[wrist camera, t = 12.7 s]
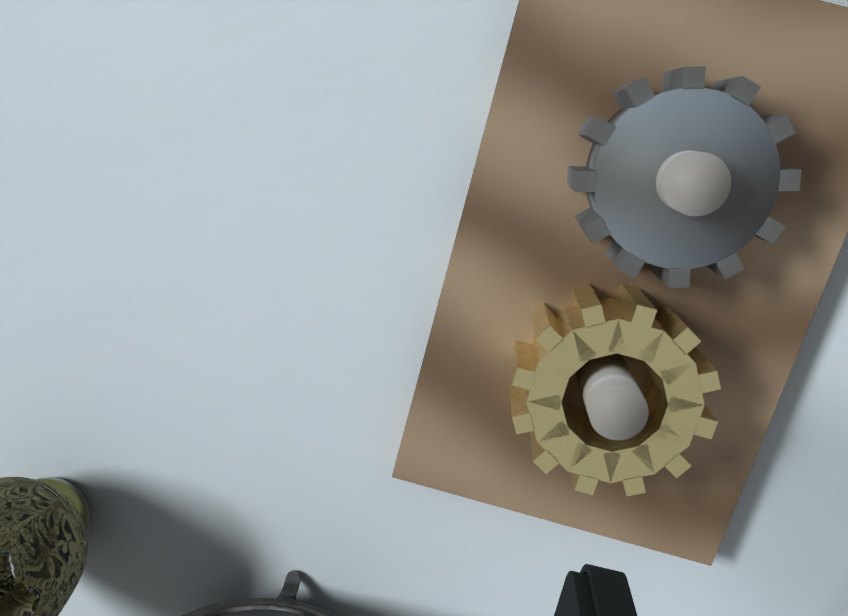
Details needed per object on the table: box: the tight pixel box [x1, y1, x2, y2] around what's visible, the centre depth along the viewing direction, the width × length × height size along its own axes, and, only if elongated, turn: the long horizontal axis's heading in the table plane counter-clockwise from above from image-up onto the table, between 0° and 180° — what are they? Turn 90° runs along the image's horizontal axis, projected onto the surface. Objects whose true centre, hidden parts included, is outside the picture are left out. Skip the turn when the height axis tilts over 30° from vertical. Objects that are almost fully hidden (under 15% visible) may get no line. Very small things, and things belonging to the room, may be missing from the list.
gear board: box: [392, 0, 848, 566], centre depth 27 cm, size 22×14×6 cm, turn 166°
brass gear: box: [510, 283, 721, 496], centre depth 28 cm, size 7×7×4 cm
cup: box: [0, 477, 90, 616], centre depth 32 cm, size 8×7×8 cm
